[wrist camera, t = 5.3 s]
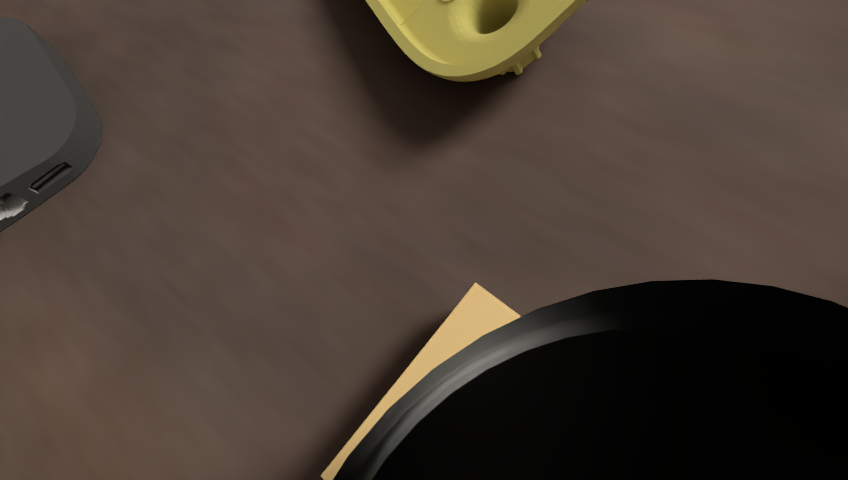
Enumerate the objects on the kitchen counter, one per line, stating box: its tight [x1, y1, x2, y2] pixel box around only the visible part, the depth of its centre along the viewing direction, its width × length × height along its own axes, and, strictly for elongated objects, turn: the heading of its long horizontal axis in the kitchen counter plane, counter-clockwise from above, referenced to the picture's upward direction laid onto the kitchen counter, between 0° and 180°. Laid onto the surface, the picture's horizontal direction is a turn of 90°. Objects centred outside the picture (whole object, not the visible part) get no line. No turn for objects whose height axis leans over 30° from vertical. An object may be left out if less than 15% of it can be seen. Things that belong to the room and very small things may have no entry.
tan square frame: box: [321, 283, 521, 480], centre depth 17 cm, size 9×9×4 cm
